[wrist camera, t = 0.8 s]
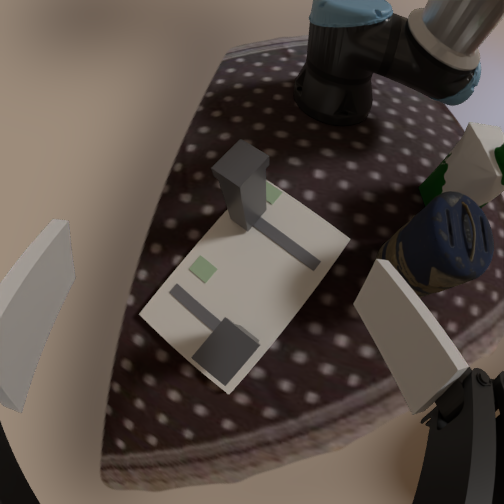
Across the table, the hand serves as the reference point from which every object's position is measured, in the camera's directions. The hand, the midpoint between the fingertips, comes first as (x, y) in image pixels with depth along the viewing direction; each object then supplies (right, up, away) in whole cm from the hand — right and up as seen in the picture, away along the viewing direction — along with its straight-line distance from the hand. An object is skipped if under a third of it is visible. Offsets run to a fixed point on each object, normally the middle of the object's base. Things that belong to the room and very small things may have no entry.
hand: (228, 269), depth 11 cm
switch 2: (-1, -11, +23) cm, 25 cm away
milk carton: (+33, +9, +29) cm, 45 cm away
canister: (+23, -2, +27) cm, 35 cm away
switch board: (0, -3, +28) cm, 28 cm away
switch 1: (0, +6, +27) cm, 28 cm away
